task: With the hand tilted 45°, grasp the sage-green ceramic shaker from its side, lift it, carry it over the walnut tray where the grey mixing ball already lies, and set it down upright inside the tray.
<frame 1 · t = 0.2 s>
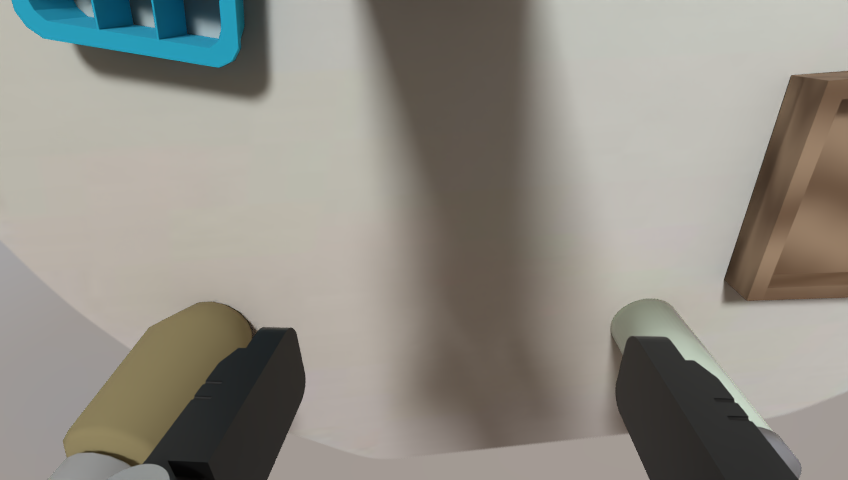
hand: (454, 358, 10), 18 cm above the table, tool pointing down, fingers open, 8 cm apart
shaker: (643, 324, 31), on the table
squeeze bottle: (220, 326, 34), on the table
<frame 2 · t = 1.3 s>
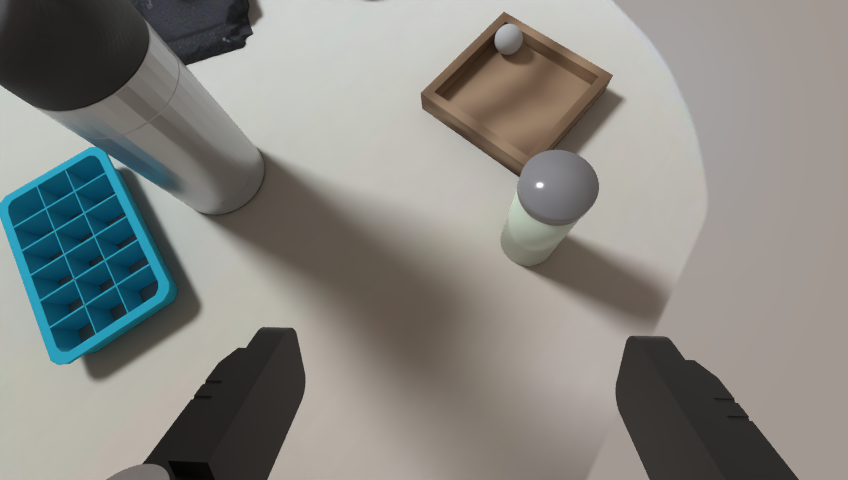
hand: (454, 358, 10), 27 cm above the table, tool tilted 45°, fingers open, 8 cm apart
ice cube tray: (106, 254, 41), on the table
shaker: (526, 240, 38), on the table
dark slate chunk: (169, 29, 51), on the table
ball: (508, 39, 43), point 2 cm above the table, touching tray
tray: (512, 100, 43), on the table
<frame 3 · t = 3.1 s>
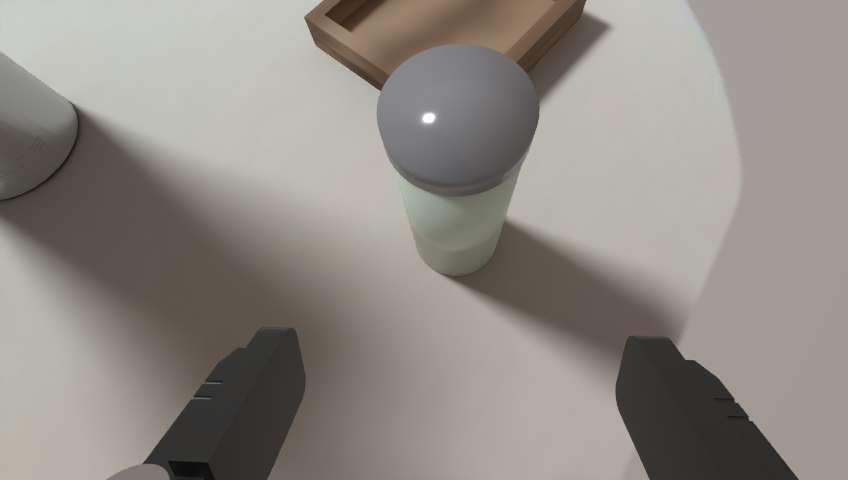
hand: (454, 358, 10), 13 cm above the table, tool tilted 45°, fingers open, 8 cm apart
shaker: (455, 236, 24), on the table
tray: (446, 31, 30), on the table
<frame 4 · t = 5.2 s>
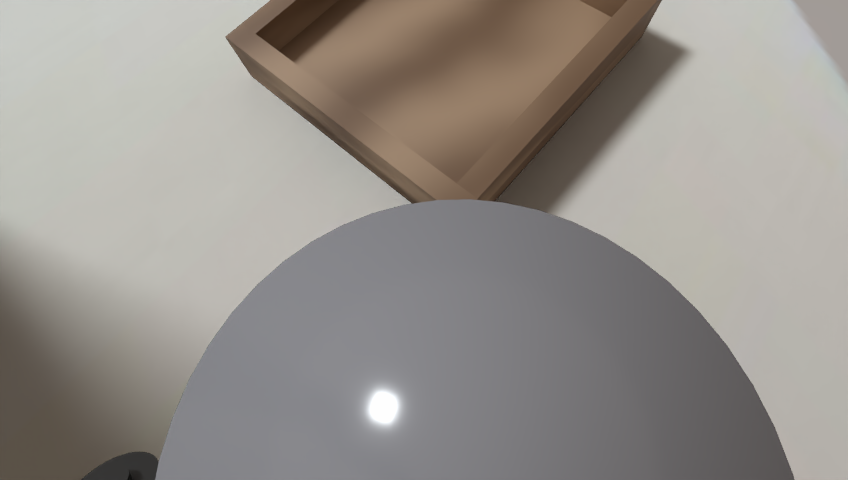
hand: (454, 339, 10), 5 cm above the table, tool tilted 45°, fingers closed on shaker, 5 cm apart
shaker: (455, 403, 15), on the table, touching gripper
tray: (442, 56, 20), on the table
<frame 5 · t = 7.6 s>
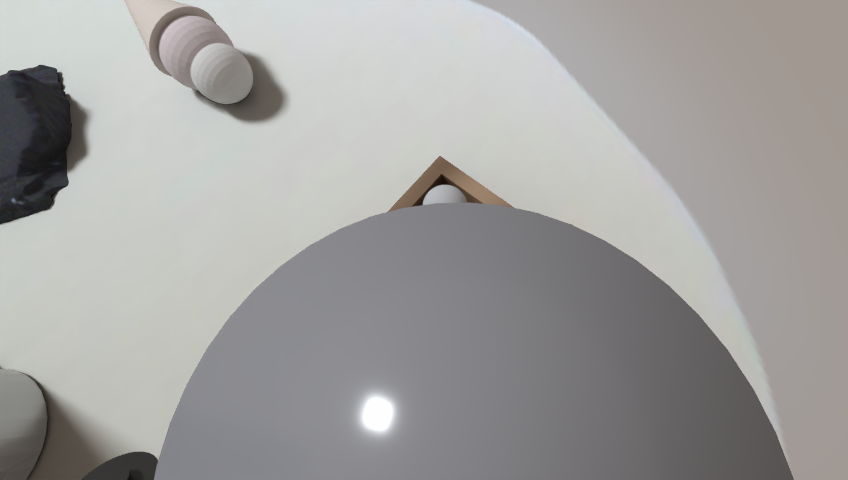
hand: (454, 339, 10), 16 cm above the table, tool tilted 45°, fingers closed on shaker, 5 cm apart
shaker: (455, 404, 15), point 11 cm above the table, touching gripper
ice cream cone: (202, 68, 36), on the table
ball: (444, 207, 26), point 2 cm above the table, touching tray
tray: (454, 303, 27), on the table
when the fingers open (8 cm above the table, at t = 10.1 s): shaker drops 1 cm, resting on tray.
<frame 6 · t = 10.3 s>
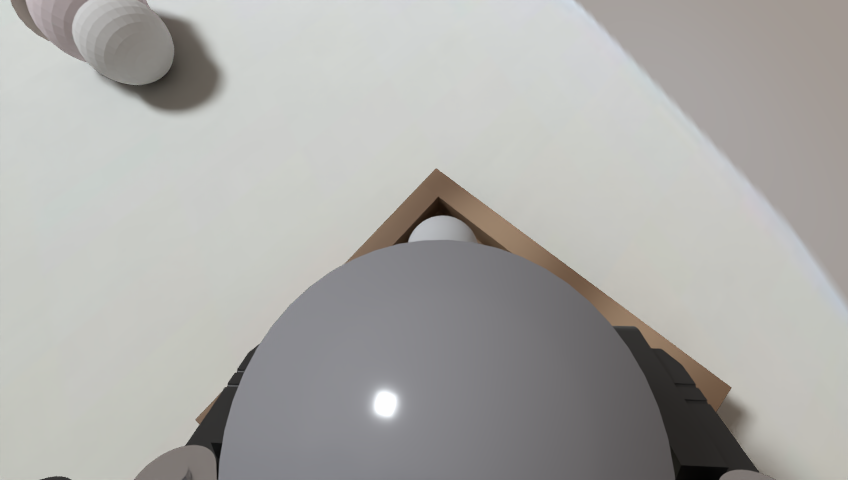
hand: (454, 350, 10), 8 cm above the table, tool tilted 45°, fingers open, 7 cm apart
shaker: (454, 404, 16), point 1 cm above the table, touching tray
ice cream cone: (112, 36, 26), on the table
ball: (442, 251, 17), point 2 cm above the table, touching tray
tray: (454, 400, 17), on the table
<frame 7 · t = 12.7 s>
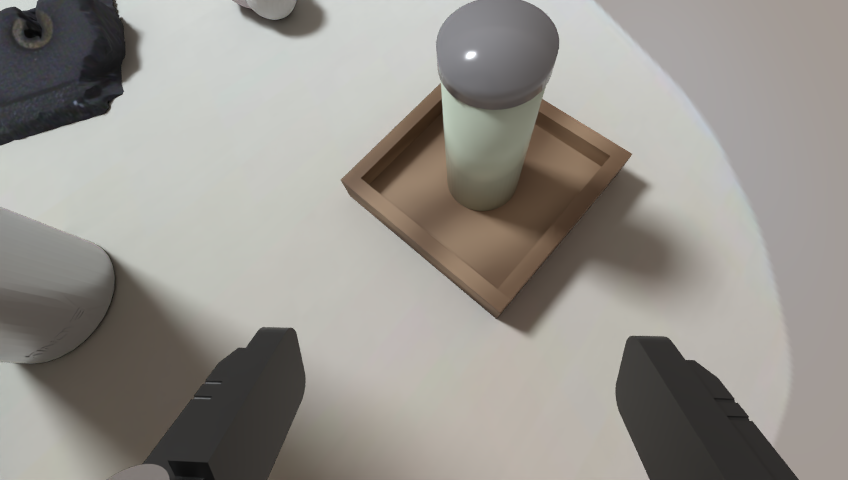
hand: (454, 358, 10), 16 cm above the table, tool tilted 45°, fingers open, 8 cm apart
shaker: (482, 179, 28), point 1 cm above the table, touching tray
dark slate chunk: (21, 84, 38), on the table
tray: (481, 184, 29), on the table
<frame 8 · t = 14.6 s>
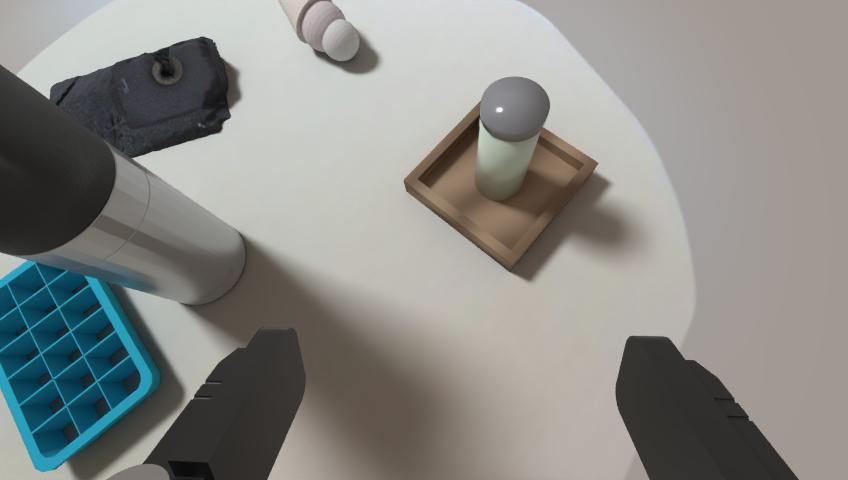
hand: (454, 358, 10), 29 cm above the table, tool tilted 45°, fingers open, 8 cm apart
ice cube tray: (85, 345, 41), on the table
shaker: (498, 179, 42), point 1 cm above the table, touching tray
dark slate chunk: (148, 107, 51), on the table
ice cream cone: (318, 38, 52), on the table
tray: (497, 183, 43), on the table
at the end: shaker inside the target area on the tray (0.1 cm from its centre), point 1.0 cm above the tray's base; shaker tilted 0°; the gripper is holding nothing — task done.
